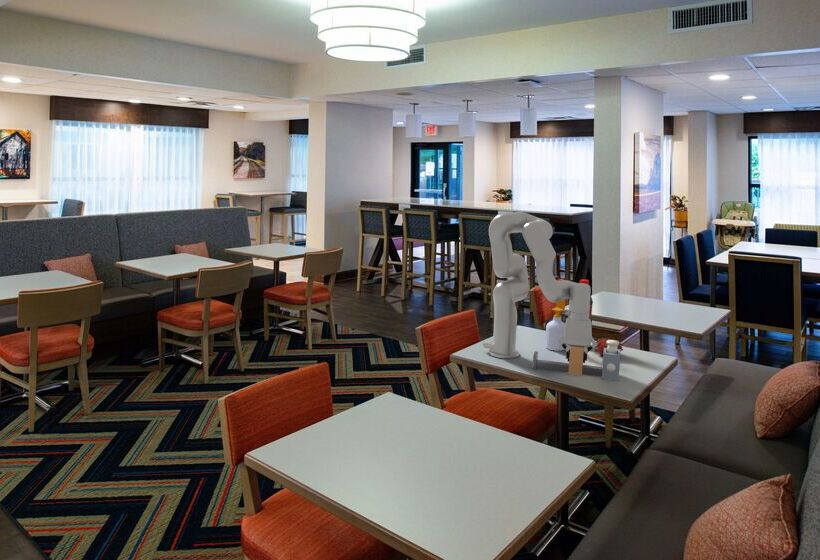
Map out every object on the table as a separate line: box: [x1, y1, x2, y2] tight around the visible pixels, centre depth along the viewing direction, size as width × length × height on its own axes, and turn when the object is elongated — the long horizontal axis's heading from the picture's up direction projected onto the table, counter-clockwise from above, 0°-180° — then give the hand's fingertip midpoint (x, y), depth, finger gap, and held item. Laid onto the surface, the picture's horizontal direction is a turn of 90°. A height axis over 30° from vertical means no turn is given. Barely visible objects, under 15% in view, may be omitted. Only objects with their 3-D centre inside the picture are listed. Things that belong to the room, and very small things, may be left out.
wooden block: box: [567, 345, 584, 376], centre depth 230 cm, size 5×7×11 cm
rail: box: [532, 350, 602, 378], centre depth 231 cm, size 27×5×6 cm, turn 72°
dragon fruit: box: [594, 337, 624, 356], centre depth 252 cm, size 8×8×12 cm
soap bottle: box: [544, 300, 566, 352], centre depth 260 cm, size 9×9×25 cm
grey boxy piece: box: [601, 348, 621, 382], centre depth 226 cm, size 6×8×10 cm
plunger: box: [606, 339, 620, 354], centre depth 225 cm, size 5×5×5 cm
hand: (576, 360), depth 230 cm, fingers closed on wooden block, 5 cm apart
